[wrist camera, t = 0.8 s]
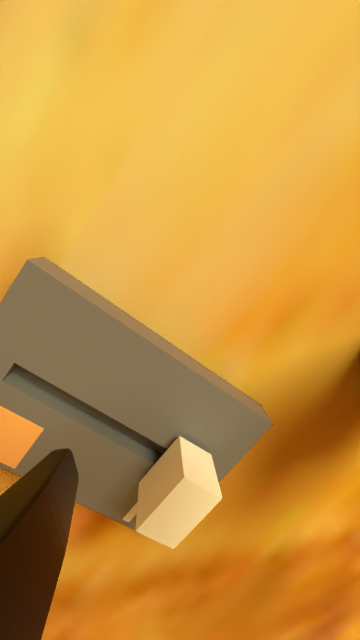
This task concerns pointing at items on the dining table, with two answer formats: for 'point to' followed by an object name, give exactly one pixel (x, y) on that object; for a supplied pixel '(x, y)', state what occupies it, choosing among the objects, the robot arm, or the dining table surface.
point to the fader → (177, 493)
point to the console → (106, 392)
